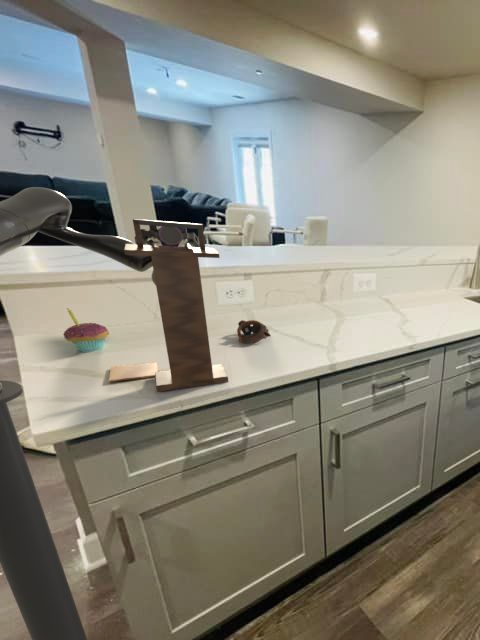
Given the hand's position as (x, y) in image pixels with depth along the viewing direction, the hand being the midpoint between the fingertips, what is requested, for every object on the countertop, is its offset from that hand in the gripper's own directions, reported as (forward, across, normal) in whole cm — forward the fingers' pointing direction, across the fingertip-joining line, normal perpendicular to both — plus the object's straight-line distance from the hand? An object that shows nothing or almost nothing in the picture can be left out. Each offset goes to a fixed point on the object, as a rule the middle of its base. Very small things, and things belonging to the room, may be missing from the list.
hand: (168, 227), depth 92 cm
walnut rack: (-8, 0, -36) cm, 37 cm away
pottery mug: (-29, -18, -24) cm, 42 cm away
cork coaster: (-16, +11, -32) cm, 37 cm away
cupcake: (-34, +20, -21) cm, 45 cm away
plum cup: (-1, 0, -4) cm, 4 cm away
